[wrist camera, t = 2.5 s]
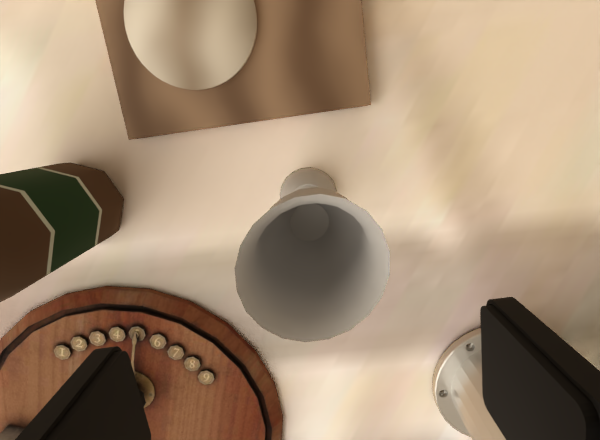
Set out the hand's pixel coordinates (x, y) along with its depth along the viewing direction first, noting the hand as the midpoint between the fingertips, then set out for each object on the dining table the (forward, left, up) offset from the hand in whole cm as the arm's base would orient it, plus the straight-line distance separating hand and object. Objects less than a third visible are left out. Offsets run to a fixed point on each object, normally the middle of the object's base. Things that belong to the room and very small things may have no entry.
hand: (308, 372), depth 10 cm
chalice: (0, 0, -26) cm, 26 cm away
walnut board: (+4, -14, -26) cm, 29 cm away
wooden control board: (+21, +21, -27) cm, 40 cm away
